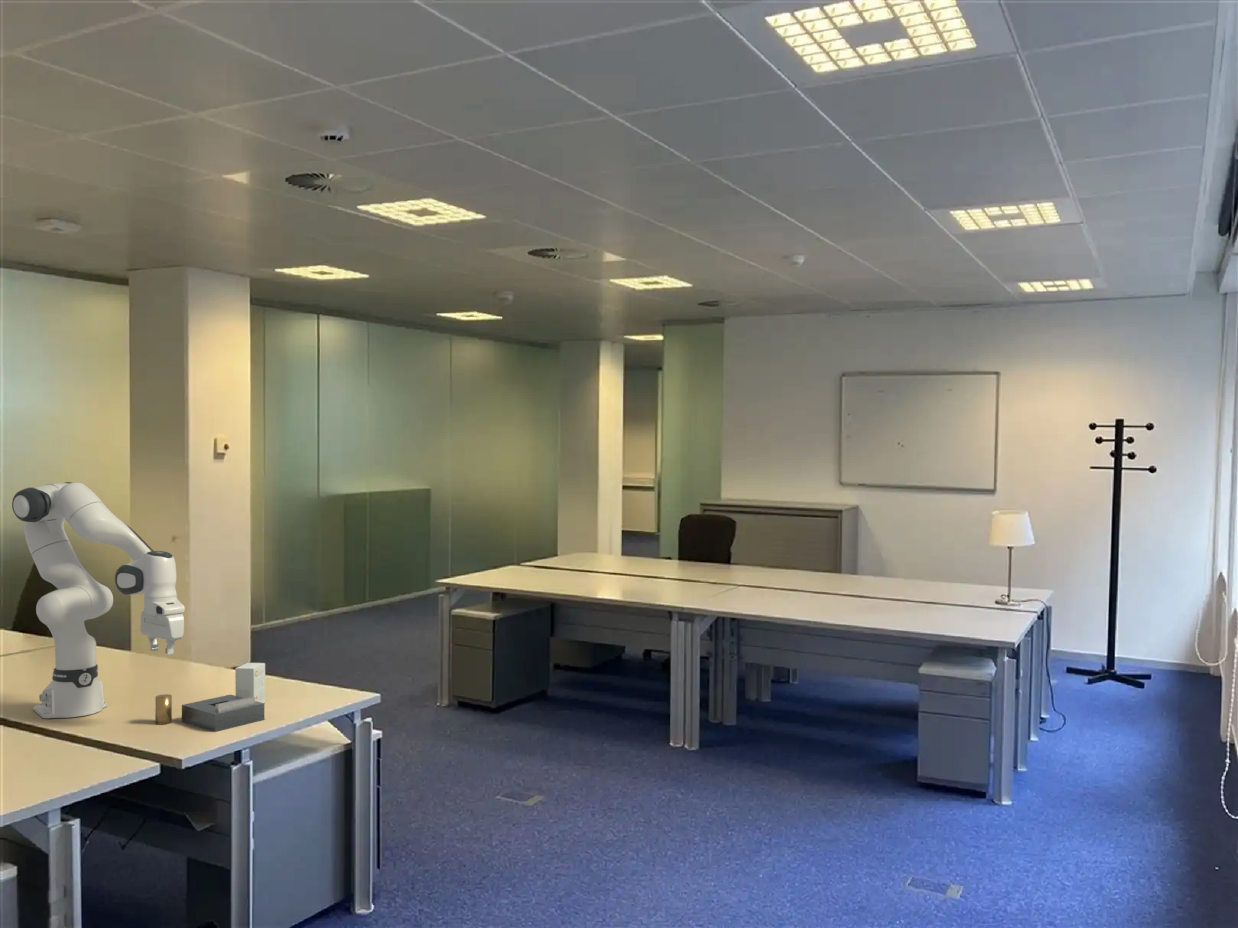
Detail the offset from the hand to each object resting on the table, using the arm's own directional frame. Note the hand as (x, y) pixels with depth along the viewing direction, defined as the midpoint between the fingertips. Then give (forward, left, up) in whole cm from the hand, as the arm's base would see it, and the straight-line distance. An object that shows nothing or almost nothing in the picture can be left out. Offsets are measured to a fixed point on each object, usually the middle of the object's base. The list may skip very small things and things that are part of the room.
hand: (161, 652), depth 289 cm
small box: (+3, +28, -22) cm, 35 cm away
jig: (+12, +13, -21) cm, 27 cm away
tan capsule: (0, +1, -21) cm, 21 cm away
